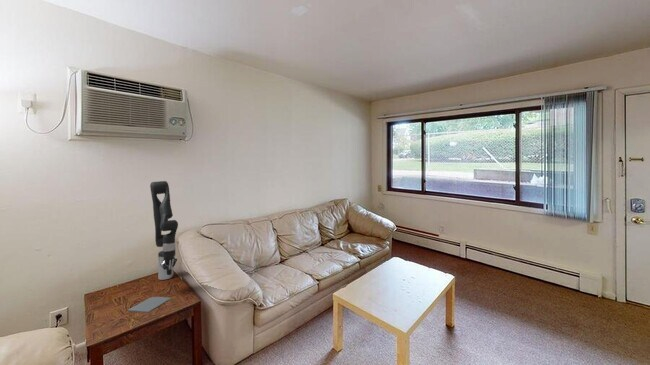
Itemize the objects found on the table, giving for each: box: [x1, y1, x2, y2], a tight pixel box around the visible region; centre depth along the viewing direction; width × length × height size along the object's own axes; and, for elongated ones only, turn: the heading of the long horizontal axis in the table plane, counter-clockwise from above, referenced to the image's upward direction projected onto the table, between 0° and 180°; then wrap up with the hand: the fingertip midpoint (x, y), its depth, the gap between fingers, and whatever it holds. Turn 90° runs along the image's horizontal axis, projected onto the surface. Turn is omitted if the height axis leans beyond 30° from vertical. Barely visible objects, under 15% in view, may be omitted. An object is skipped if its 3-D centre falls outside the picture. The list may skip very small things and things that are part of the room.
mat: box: [127, 296, 172, 314], centre depth 157 cm, size 18×14×1 cm
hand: (169, 274), depth 173 cm, fingers closed
